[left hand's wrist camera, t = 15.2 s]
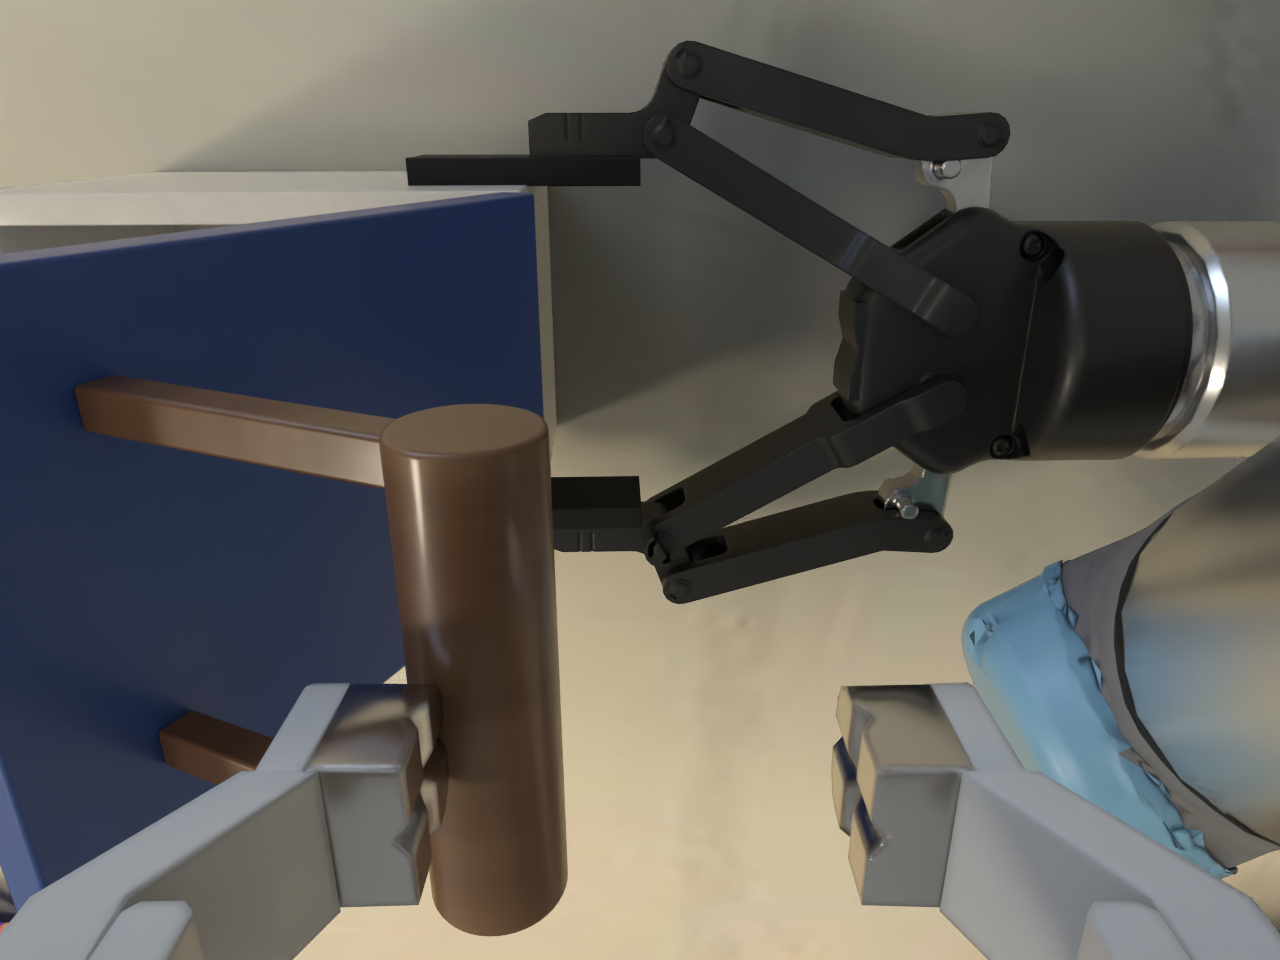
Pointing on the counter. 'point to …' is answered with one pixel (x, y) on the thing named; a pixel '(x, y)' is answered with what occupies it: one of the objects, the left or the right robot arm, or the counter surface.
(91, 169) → the counter surface
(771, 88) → the right robot arm
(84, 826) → the lid
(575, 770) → the counter surface
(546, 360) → the chest
